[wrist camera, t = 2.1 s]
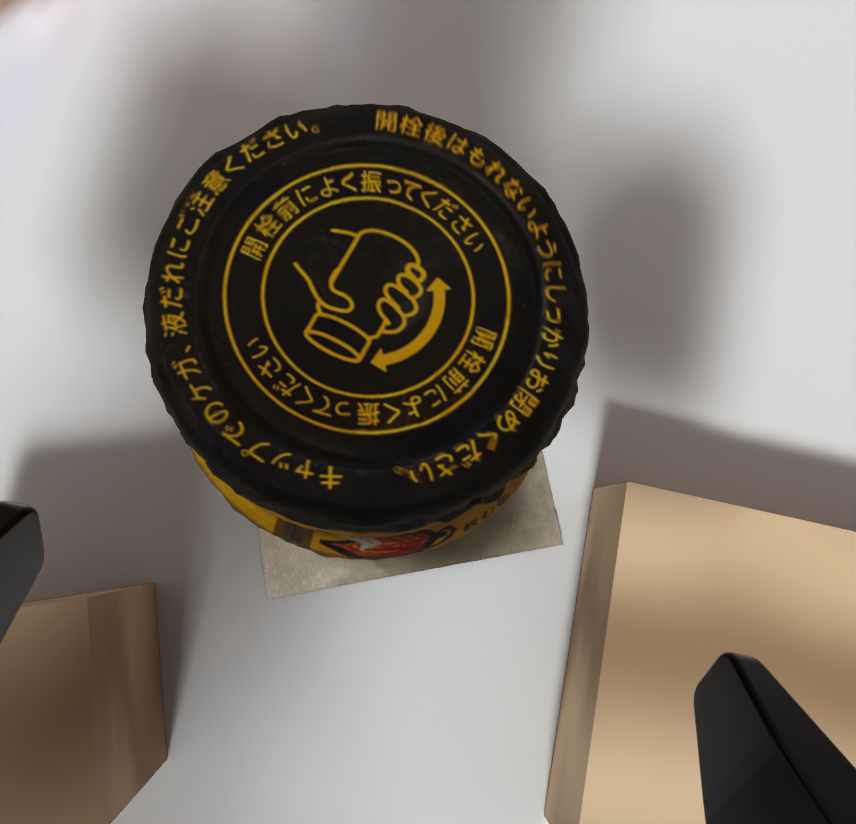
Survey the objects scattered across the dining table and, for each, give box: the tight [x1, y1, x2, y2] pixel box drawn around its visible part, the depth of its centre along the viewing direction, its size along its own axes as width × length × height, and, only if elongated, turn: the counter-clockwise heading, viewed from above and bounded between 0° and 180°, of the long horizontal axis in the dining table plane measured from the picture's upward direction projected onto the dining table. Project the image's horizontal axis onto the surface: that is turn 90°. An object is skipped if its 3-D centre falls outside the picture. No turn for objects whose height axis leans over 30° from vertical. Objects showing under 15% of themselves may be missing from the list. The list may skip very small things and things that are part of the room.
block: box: [0, 583, 167, 824], centre depth 15 cm, size 4×4×4 cm
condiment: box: [143, 104, 589, 600], centre depth 13 cm, size 7×8×12 cm
